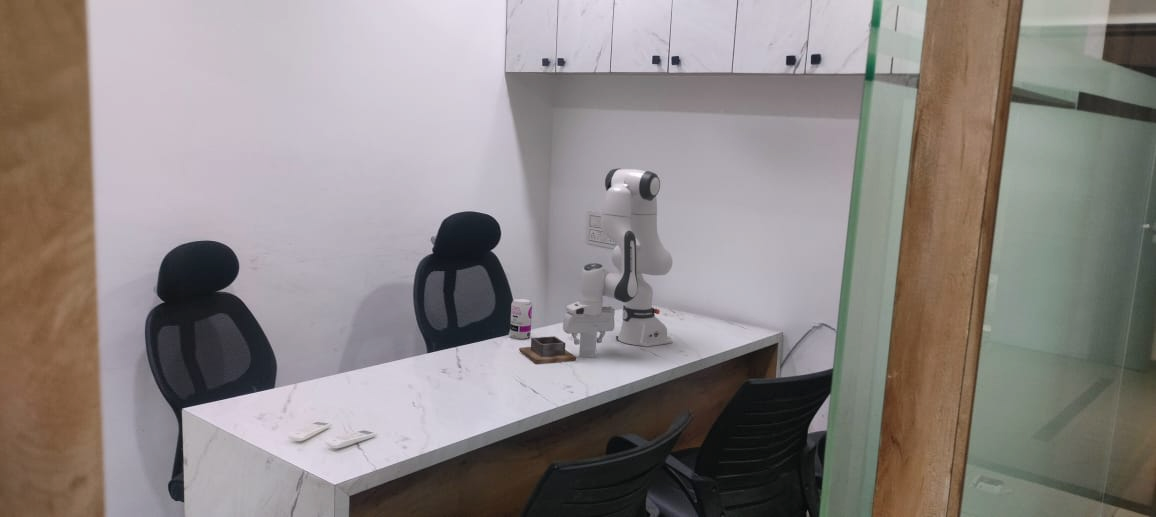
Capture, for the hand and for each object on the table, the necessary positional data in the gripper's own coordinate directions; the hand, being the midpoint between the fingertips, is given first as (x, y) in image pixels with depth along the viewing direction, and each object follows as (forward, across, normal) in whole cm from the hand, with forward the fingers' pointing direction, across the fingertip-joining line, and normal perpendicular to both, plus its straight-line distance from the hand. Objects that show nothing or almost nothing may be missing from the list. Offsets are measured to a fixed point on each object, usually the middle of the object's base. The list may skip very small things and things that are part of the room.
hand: (587, 343), depth 296 cm
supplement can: (+5, +15, -30) cm, 34 cm away
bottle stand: (+5, +15, -3) cm, 16 cm away
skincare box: (+5, 0, 0) cm, 5 cm away
